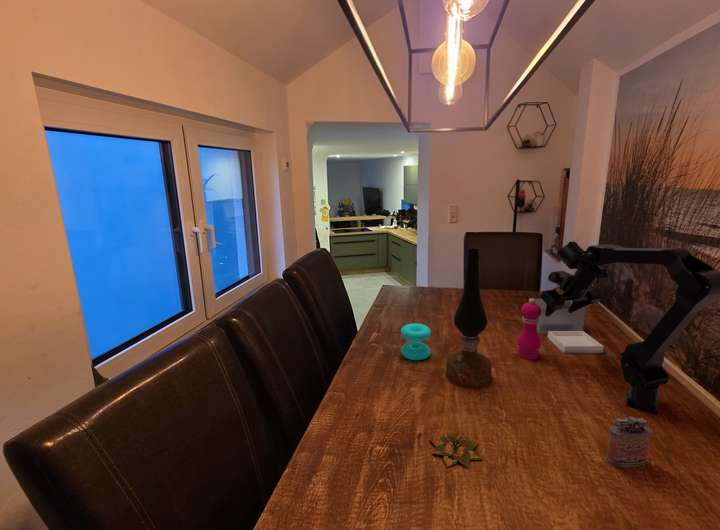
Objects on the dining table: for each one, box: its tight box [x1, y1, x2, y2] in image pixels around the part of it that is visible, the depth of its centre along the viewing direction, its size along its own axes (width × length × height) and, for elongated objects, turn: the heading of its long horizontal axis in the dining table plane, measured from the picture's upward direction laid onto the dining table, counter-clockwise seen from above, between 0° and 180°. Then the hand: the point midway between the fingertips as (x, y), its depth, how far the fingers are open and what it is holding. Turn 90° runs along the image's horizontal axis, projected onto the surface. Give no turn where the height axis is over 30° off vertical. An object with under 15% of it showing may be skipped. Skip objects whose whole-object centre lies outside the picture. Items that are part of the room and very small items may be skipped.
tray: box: [547, 330, 604, 354], centre depth 130 cm, size 13×13×2 cm
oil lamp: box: [444, 248, 493, 389], centre depth 112 cm, size 14×15×40 cm
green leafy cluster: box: [433, 428, 485, 469], centre depth 82 cm, size 12×12×5 cm
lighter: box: [605, 415, 653, 468], centre depth 76 cm, size 8×3×10 cm, turn 92°
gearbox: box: [527, 298, 586, 335], centre depth 144 cm, size 12×16×13 cm
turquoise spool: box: [400, 323, 432, 361], centre depth 126 cm, size 10×10×10 cm
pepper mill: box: [516, 297, 542, 360], centre depth 122 cm, size 7×7×20 cm
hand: (558, 314), depth 120 cm, fingers open, 9 cm apart
